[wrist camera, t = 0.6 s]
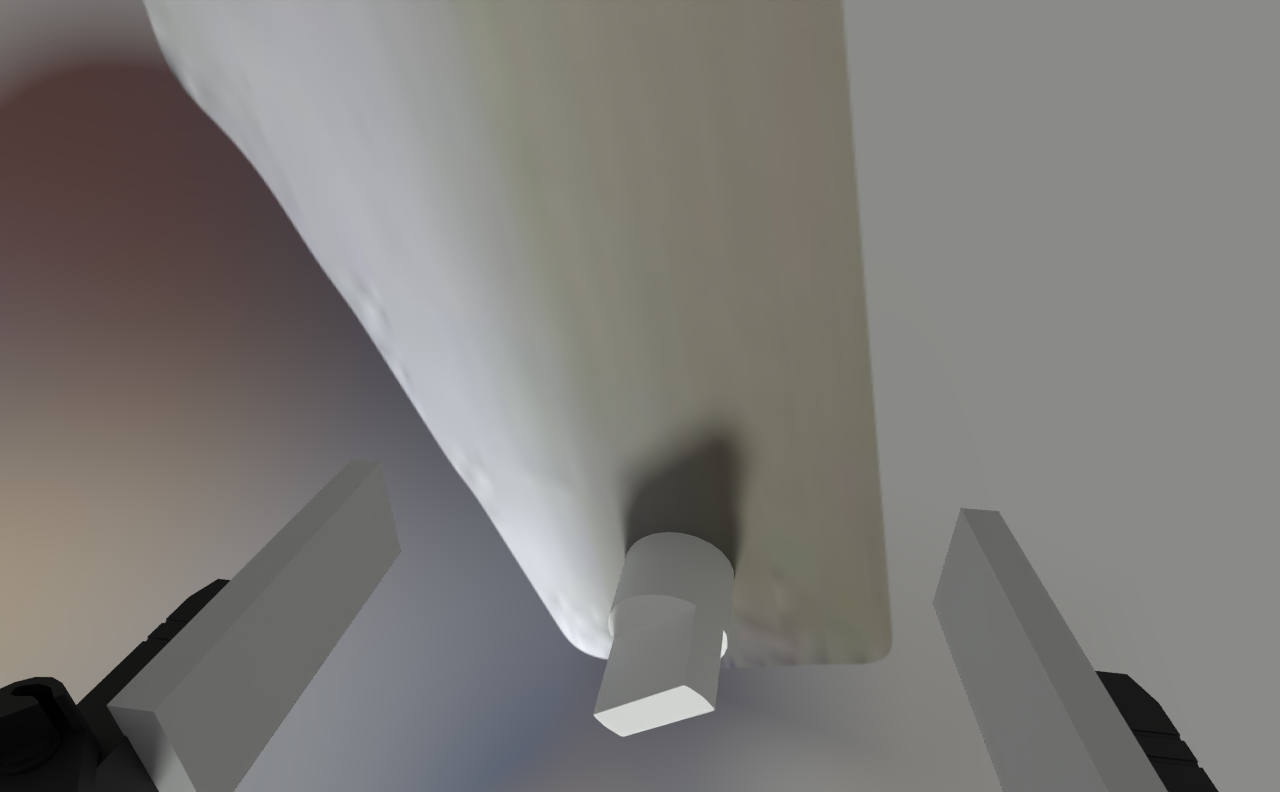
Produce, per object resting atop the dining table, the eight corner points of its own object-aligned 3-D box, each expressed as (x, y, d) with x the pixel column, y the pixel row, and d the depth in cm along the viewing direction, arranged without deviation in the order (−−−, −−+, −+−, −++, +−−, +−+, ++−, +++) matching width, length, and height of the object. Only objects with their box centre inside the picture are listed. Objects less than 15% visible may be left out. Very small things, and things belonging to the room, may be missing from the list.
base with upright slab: (674, 618, 55) (648, 758, 45) (603, 557, 52) (559, 692, 43) (757, 585, 50) (747, 733, 41) (684, 516, 48) (655, 657, 38)
